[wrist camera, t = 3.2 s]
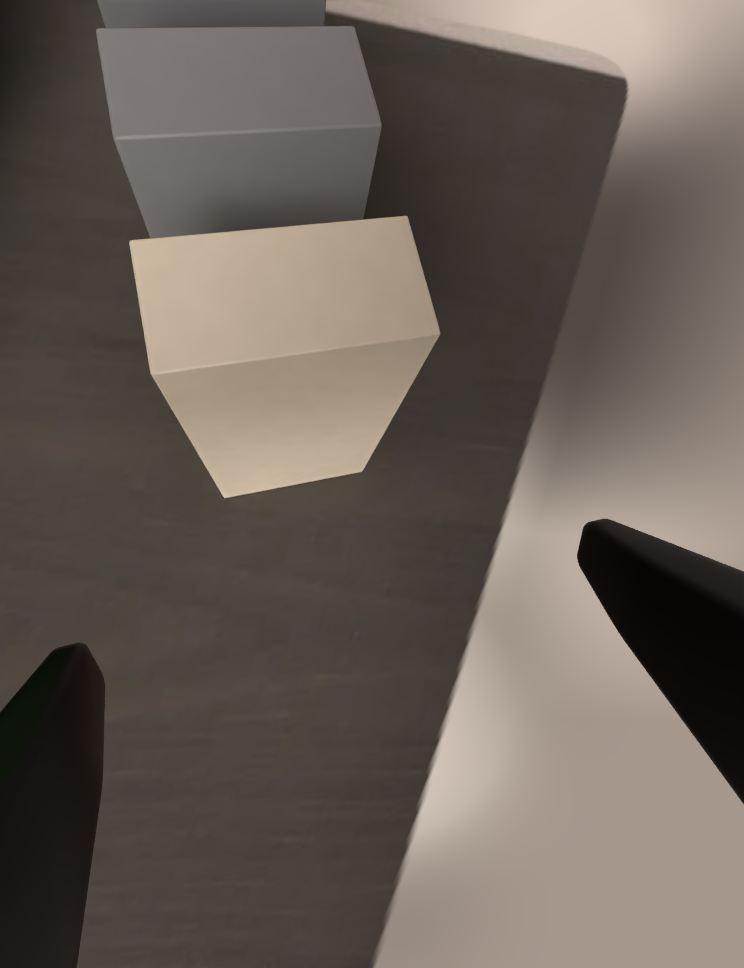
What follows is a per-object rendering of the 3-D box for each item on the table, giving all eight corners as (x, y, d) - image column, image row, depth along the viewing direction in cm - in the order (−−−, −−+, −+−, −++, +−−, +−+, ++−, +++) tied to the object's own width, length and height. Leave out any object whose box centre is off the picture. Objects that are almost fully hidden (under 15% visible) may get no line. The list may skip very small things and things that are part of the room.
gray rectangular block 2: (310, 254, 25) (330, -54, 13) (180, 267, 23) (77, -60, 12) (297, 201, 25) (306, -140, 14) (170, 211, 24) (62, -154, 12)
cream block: (362, 471, 23) (441, 334, 11) (223, 498, 21) (150, 374, 10) (347, 408, 23) (408, 214, 12) (211, 431, 22) (127, 239, 10)
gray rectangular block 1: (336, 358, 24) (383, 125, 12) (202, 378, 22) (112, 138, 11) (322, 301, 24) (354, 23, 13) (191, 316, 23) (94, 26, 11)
